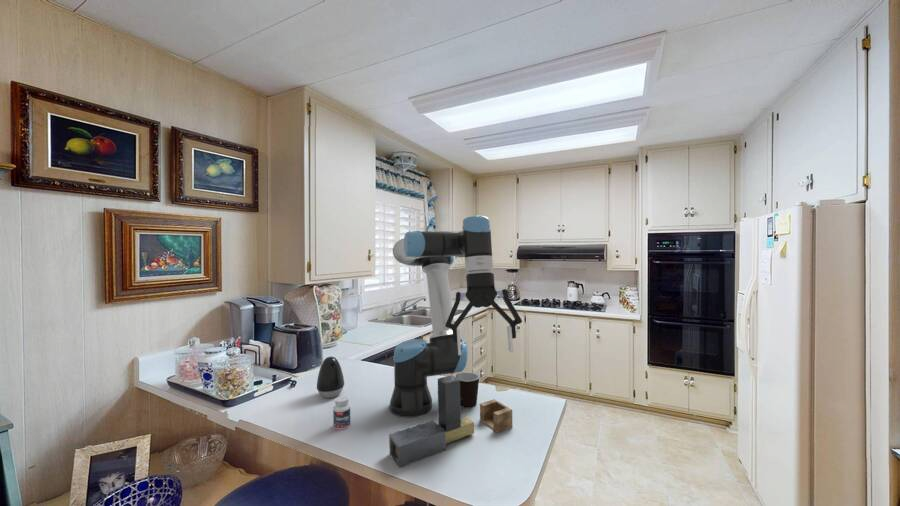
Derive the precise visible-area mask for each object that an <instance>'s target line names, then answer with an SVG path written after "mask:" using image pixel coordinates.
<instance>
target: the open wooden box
mask: <svg viewBox="0 0 900 506" xmlns="http://www.w3.org/2000/svg"><path fill="white" fill-rule="evenodd" d="M479 420H480V422H482V423H483V424H485V426H487V427H489V428H490V429H491V430H493V431H494V432H496V433H497V434H498V433H500V432H503V431H506V430H509V429H511V428H513V426H514V425H513V409H512V408H510V407H508V406H506V405H505V404H504V403H502V402H500V401H498V400H496V399H495V398H494V399H489V400H487V401H484V402H480V404H479Z"/></svg>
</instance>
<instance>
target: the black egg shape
mask: <svg viewBox="0 0 900 506" xmlns="http://www.w3.org/2000/svg"><path fill="white" fill-rule="evenodd" d="M344 386H345V379H344V373H343V370H342V367H341V364H340V362H339V360H338V359H337V358H336V357H334V356H328V357H325V359H324V360H322V363H321V365H320V367H319V371H318V375H317V380H316V389H317V391H318V394H319V395H320V397H322V398H325V399H334V398H335V397H336V398H337V396H338V397H339V395H340V394H341V393H342V391H343V389H344Z"/></svg>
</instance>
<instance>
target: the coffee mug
mask: <svg viewBox="0 0 900 506" xmlns="http://www.w3.org/2000/svg"><path fill="white" fill-rule="evenodd" d="M455 377H456V378H458V379H459V380H460V408H461V407H462V408H463V409H464V408H465V409H472V408H475V407H476V406H477V404H478V393H479V383H480V375H479V374H478V373H475V372H470V371H469V372H468V371H467V372H466V371H465V372H458V374H456V375H455Z"/></svg>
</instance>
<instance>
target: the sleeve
mask: <svg viewBox="0 0 900 506" xmlns="http://www.w3.org/2000/svg"><path fill="white" fill-rule="evenodd" d="M388 437H389V439H388V443H389V448H388V449H389V450H388V451H389V452H388V453H389V455H390V457H391V458H392V459H393V462H394V463H395V464H396V465H397V466H398V468H402V467H403V468H404V467H406V466H408V465H411V464H414V463H416V462H418V461H421V460H424V459H427V458H430V457H431V456H435V455H437V454H440V453H442V452H445V451H446V450H447V447H446V445H447V443H446V440H445V430H444V429H443V428H442V427H440V426H439V425H438V423H437V422H436V421H435V420H430V421H427V422H424V423H420V424H417V425H415V426H411V427H408V428H405V429H402V430H399V431H396V432H393V433H390V434H388ZM395 445H396V447H397V448H398V456H397V455H396V454H395Z"/></svg>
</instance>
